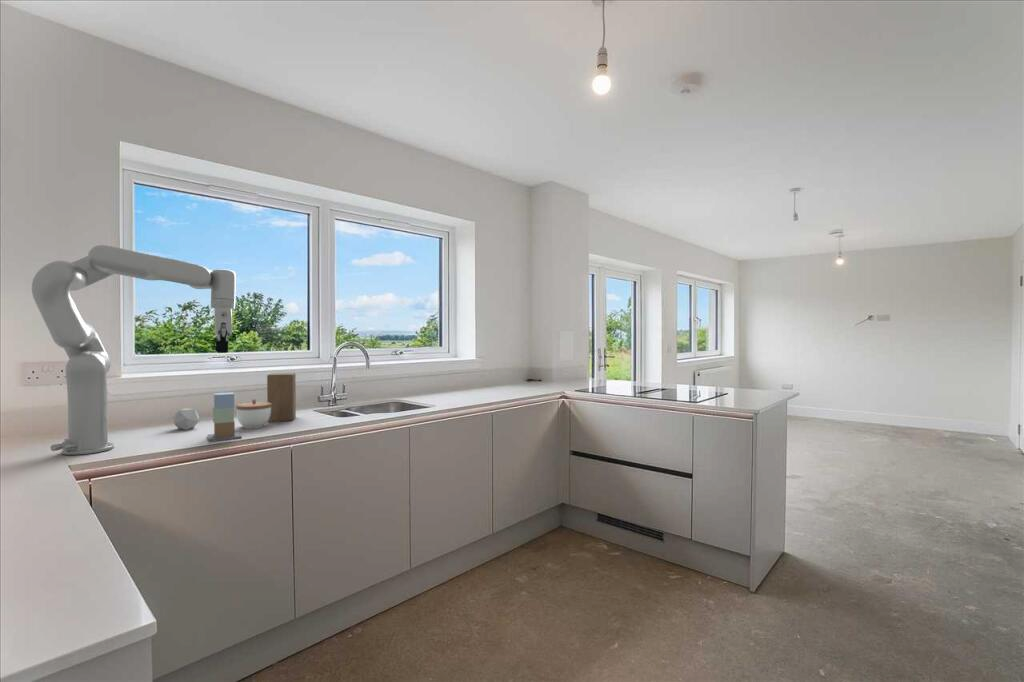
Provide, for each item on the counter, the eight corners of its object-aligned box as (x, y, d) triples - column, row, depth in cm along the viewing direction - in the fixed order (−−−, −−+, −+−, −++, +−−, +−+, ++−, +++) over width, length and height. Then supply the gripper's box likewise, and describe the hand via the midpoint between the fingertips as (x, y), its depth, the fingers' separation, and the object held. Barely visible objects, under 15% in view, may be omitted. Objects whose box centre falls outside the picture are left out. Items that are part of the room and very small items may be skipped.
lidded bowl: (238, 431, 189) (238, 402, 189) (234, 426, 199) (234, 398, 199) (274, 427, 196) (274, 399, 196) (268, 422, 207) (268, 396, 206)
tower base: (241, 438, 176) (241, 422, 176) (208, 441, 170) (208, 424, 170) (239, 433, 184) (238, 418, 184) (207, 436, 179) (207, 420, 179)
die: (204, 429, 195) (202, 408, 200) (190, 422, 188) (188, 400, 192) (183, 437, 194) (182, 415, 199) (168, 430, 187) (167, 408, 191)
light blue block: (234, 407, 176) (234, 393, 176) (214, 409, 173) (214, 395, 173) (233, 405, 181) (233, 392, 181) (214, 407, 178) (214, 393, 178)
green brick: (233, 421, 176) (233, 407, 176) (214, 423, 173) (214, 409, 173) (232, 419, 181) (232, 405, 181) (213, 421, 178) (212, 407, 178)
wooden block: (271, 418, 218) (270, 372, 217) (295, 417, 221) (295, 372, 220) (267, 422, 208) (266, 374, 208) (293, 420, 211) (292, 374, 211)
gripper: (237, 303, 171) (235, 353, 171) (233, 306, 186) (231, 351, 186) (211, 302, 167) (210, 353, 167) (209, 304, 182) (208, 351, 182)
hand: (221, 352), depth 176 cm, fingers open, 9 cm apart
